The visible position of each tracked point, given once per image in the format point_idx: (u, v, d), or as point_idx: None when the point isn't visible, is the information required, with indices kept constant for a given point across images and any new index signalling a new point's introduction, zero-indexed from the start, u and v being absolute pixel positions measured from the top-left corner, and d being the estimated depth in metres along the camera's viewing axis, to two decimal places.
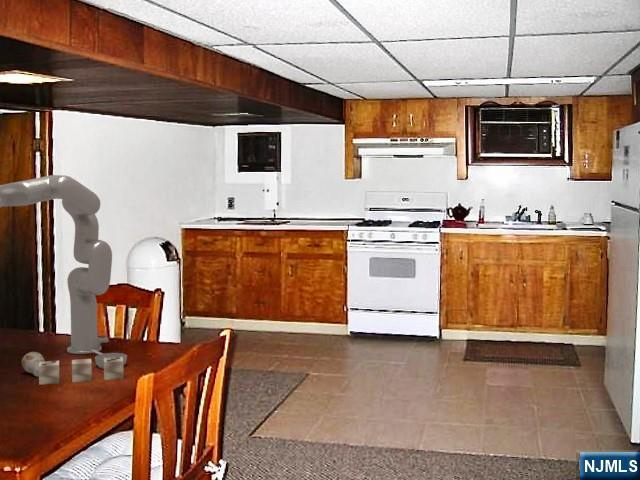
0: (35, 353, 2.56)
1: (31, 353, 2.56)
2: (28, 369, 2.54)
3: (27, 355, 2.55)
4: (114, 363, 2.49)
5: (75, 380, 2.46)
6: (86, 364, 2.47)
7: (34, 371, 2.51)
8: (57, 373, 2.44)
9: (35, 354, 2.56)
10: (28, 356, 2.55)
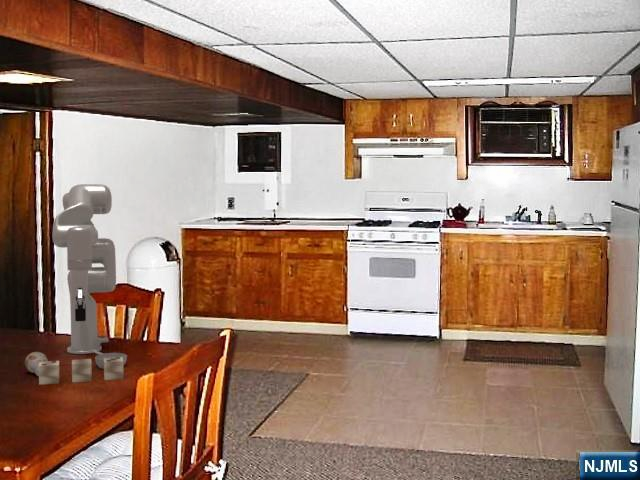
0: (38, 353, 2.56)
1: (34, 353, 2.56)
2: (31, 369, 2.54)
3: (30, 355, 2.55)
4: (114, 363, 2.49)
5: (75, 380, 2.46)
6: (86, 364, 2.47)
7: (36, 371, 2.51)
8: (57, 373, 2.44)
9: (38, 354, 2.56)
10: (31, 356, 2.55)
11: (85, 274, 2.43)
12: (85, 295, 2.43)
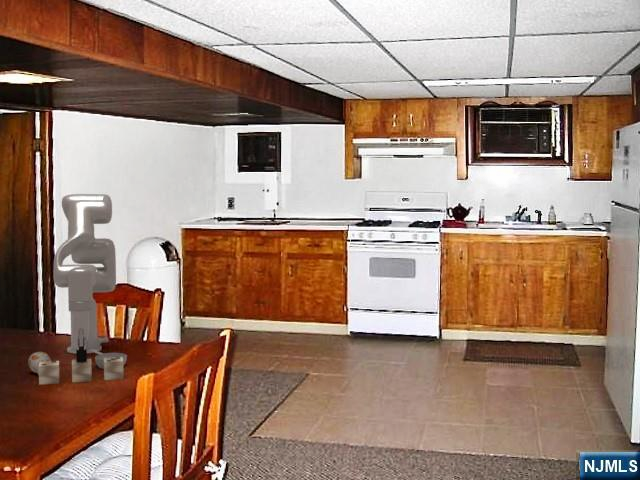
0: (41, 353, 2.56)
1: (37, 353, 2.56)
2: (33, 369, 2.54)
3: (33, 355, 2.56)
4: (114, 363, 2.49)
5: (75, 380, 2.46)
6: (86, 364, 2.47)
7: (38, 371, 2.51)
8: (57, 373, 2.44)
9: (41, 354, 2.56)
10: (34, 356, 2.55)
11: (86, 315, 2.44)
12: (86, 336, 2.44)
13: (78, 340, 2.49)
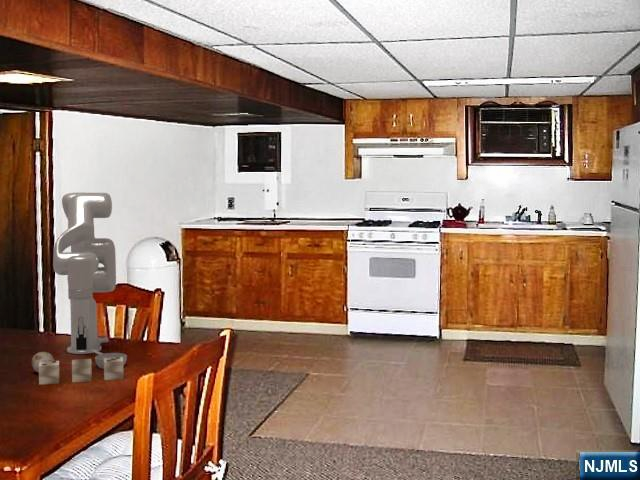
0: (44, 353, 2.56)
1: (40, 353, 2.56)
2: (36, 369, 2.54)
3: (36, 355, 2.56)
4: (114, 363, 2.49)
5: (75, 380, 2.46)
6: (86, 364, 2.47)
7: None
8: (57, 373, 2.44)
9: (44, 354, 2.56)
10: (37, 356, 2.55)
11: (86, 303, 2.44)
12: (86, 324, 2.44)
13: None
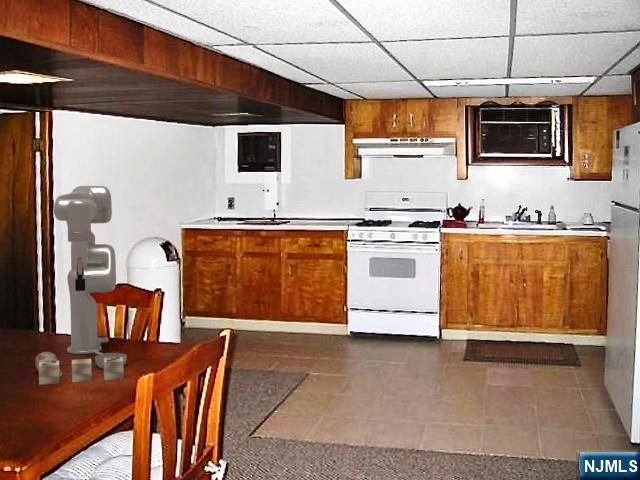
0: (47, 353, 2.56)
1: (44, 353, 2.56)
2: None
3: (40, 355, 2.56)
4: (114, 363, 2.49)
5: (75, 380, 2.46)
6: (86, 364, 2.47)
7: None
8: (57, 373, 2.44)
9: (47, 354, 2.56)
10: (40, 356, 2.55)
11: (85, 245, 2.56)
12: (85, 265, 2.56)
13: (77, 270, 2.61)
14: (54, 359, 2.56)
